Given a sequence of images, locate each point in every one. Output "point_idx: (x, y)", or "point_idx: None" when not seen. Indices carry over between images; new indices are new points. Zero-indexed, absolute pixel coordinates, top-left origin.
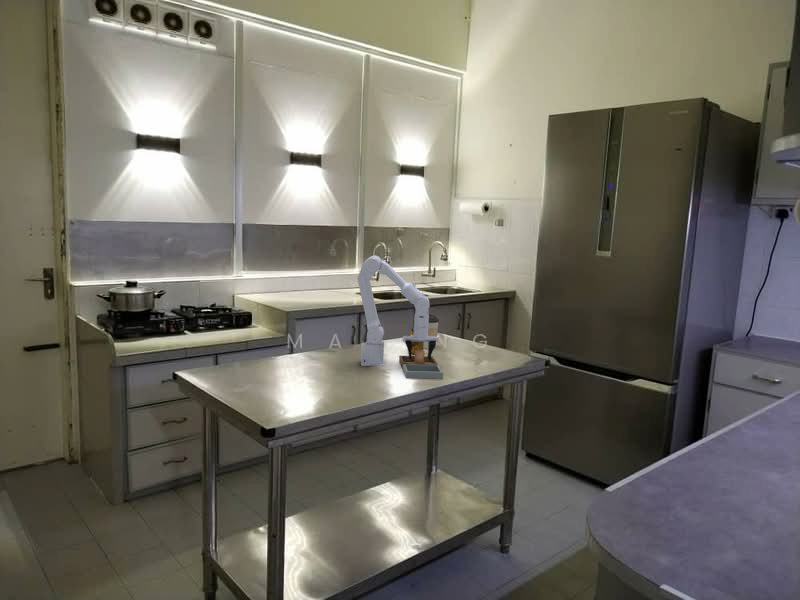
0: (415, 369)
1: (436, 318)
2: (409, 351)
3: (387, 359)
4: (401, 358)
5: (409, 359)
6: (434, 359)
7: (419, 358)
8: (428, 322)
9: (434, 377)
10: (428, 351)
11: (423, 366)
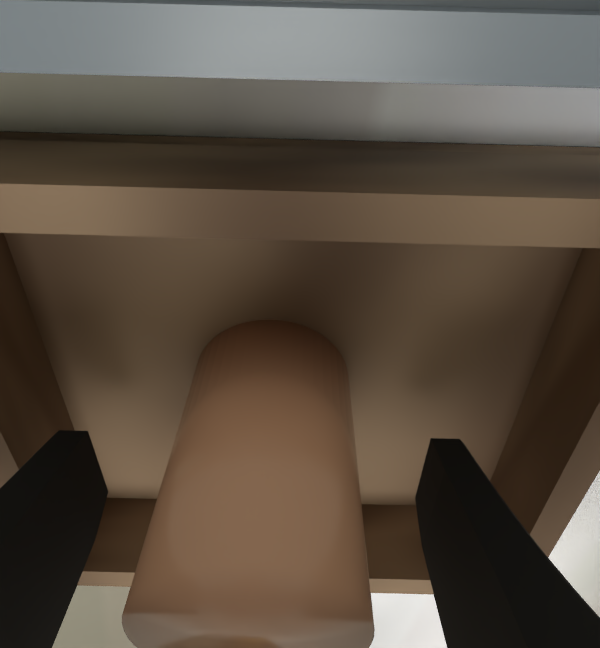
0: (431, 7)
1: None
2: (562, 599)
3: (570, 580)
4: (568, 498)
5: (380, 534)
6: None
7: (274, 426)
8: None
9: None
10: (41, 631)
11: (216, 7)
